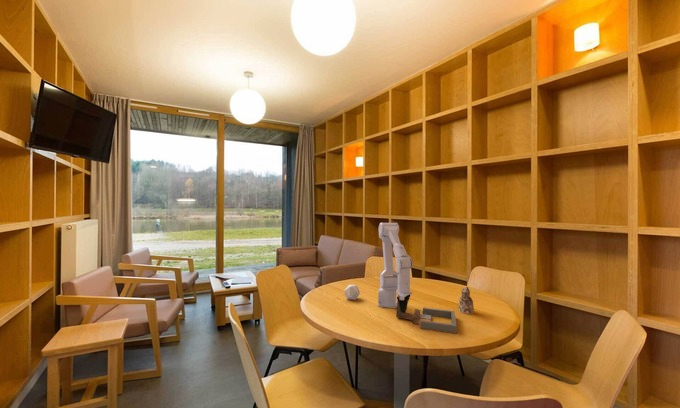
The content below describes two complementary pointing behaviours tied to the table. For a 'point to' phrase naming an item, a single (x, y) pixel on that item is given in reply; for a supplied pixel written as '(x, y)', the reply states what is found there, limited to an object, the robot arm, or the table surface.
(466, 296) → the figurine
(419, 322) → the tile terracotta
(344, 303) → the table surface
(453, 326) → the grey flat u-shaped piece
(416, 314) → the scraper
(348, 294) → the die
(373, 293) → the table surface
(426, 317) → the tile slate
